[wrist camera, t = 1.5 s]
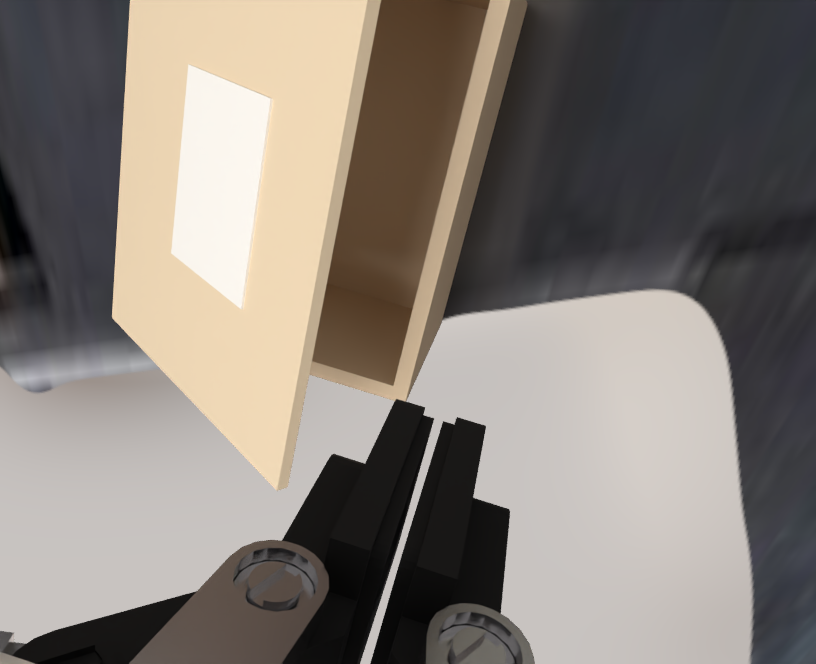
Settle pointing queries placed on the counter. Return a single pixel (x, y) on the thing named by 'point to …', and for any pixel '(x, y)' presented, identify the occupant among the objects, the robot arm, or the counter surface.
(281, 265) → the lid flap
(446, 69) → the carton
